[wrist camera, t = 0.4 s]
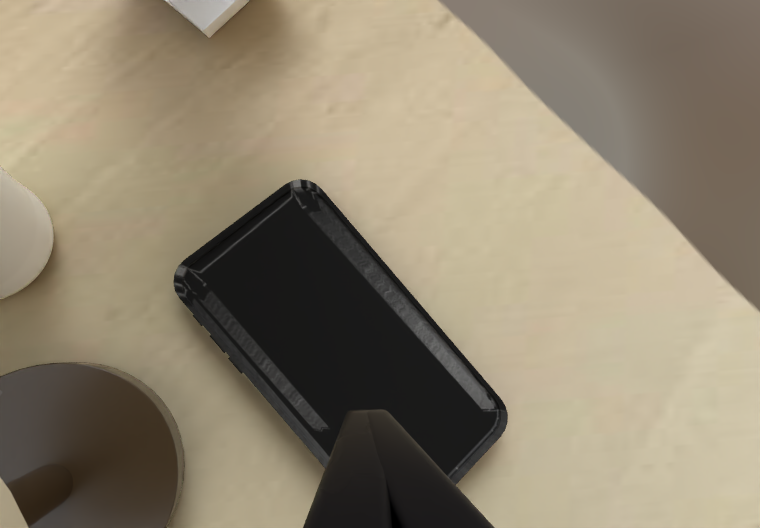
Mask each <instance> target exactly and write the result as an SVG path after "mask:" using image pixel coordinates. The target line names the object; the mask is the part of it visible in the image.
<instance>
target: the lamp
mask: <svg viewBox="0 0 760 528" xmlns="http://www.w3.org/2000/svg"><path fill="white" fill-rule="evenodd" d="M183 478H184V451H183V446H182V441H181V436H180V433H179V430H178V427H177V425H176V422H175V420H174V418H173V416H172V415H171V413H170V411H169V409H168V408H167V407H166V405H165V404H164V402H163V401H162V400H161V399H160V397H159V396H158V395H157V394H156V393H155V392H154V391H153V390H152V389H151V388H149V387H148V386H147V385H145V384H144V383H143V382H142V381H140V380H138V379H137V378H135V377H133V376H131V375H130V374H128V373H125V372H123V371H120V370H118V369H116V368H112V367H108V366H104V365H101V364H93V363H78V362H69V363H50V364H42V365H36V366H31V367H27V368H23V369H20V370H17V371H14V372H11V373H8V374H6V375H3V376H1V377H0V528H167V526H168V525H169V522H170V520H171V518H172V516H173V514H174V512H175V510H176V507H177V504H178V501H179V498H180V494H181V489H182V484H183Z"/></svg>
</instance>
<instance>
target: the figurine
mask: <svg viewBox="0 0 760 528" xmlns="http://www.w3.org/2000/svg"><path fill="white" fill-rule="evenodd" d="M164 1H166V2H167V3H168V4H169V5H170V6H172V7H173V8H174V9H175V10H176V11H178V12H179V13H180V14H181V15H182V16H183V17H185V18H186V19H187V20H188V21H189V22H191V23H192V24H193V25H194V26H195V27H197V28H198V29H199V30H200V31H201V32H203V33H204V34H205V35H206V36H207V37H209V38H210V37H211V36H212V35H213V34H214V33H215V32H216V31H217V30H219V29H220V28H221V27H222V26H223V25H224V24H225V23H226V22H227V21H228V20H229V19H230V18H232V17H233V16H234V15H235V14H236V13H237V12H238V11H239V10H240V9H241V8H242V7H244V6H245V5H246V4H247V3H248V2H249V1H250V0H164Z"/></svg>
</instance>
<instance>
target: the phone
mask: <svg viewBox="0 0 760 528" xmlns="http://www.w3.org/2000/svg"><path fill="white" fill-rule="evenodd" d="M174 287H175V291H176V293H177V295H178V296H179V298H180V299H181V300H182V302H183V303H184V304H185V305H186V306H187V307H188V309H189V310H190V311H191V312H192V313H193V314H194V315H193V317H194V318H195V319H196V320H197V321H198V322H199V324H200V325H201V326H202V325H203V326H204V327H205V328H206V330H207V331H208V332H209V333H210V334H211V335H210V337H211V338H212V339H213V341H214V342H215V343H216V344H217V345H218V346H219V348H220V349H221V350H222V351H223V352H224V353H225V352H226V353H227V354H228V355H229V356H230V357H229V358H228V359H229V360H230V361H231V362H232V363H233V365H234V366H235V367H236V368H237V369H238V370H239V372H240V373H241V374H242V373H244V374H245V375H246V376H247V377H248V379H249V380H250V381H251V382H252V383H253V384H254V386H255V387H256V388H257V389H258V390H259V391H260V393H261V394H262V395H263V396H264V397H265V398H266V400H267V401H268V402H269V403H270V404H271V405H272V407H273V408H274V409H275V410H276V411H277V412H278V414H279V415H280V416H281V417H282V418H283V419H284V421H285V422H286V423H287V424H288V425H289V426H290V428H291V429H292V430H293V431H294V432H295V433H296V435H297V436H298V437H299V438H300V439H301V440H302V442H303V443H304V444H305V445H306V446H307V447H308V449H309V450H310V451H311V452H312V453H313V455H314V456H315V457H316V458H317V459H318V460H319V462H320V463H321V464H322V465H323V466H324V467H325V469H326V466H327V463H328V461H329V458H330V456H331V453H332V450H333V448H334V445H335V442H336V440H337V437H338V435H339V432H340V429H341V427H342V424H343V421H344V419H345V416H346V414H347V412H348V411H350V410H377V409H383V410H386V411H388V412H389V413H390V414H391V415H392V417H393V418H394V419H395V420H396V421H397V422H398V423H399V424H400V425H401V426H402V427H403V429H404V430H405V431H406V432H407V433H408V434H409V435H410V436H411V437H412V438H413V439H414V441H415V442H416V443H417V444H418V445H419V446H420V447H421V448H422V449H423V450H424V451H425V453H426V454H427V455H428V456H429V457H430V458H431V459H432V460H433V461H434V462H435V463H436V465H437V466H438V467H439V468H440V469H441V470H442V471H443V472H444V473H445V474H446V475H447V477H448V478H449V479H450V480H451V481H452V482H453V483H454V484H455V485H456V484H457V483H458V482H459V481H460V480H461V478H462V477H463V476H464V475H465V474H466V473H467V472H468V471H469V470H470V469H471V468H472V467H473V466H474V465H475V463H476V462H477V461H478V460H479V459H480V458H481V457H482V456H483V455H484V454H485V453H486V452H487V451H488V450H489V448H490V447H491V446H492V445H493V444H494V443H495V442H496V441H497V440H498V439H499V438H500V437H501V435H502V434H503V432H504V431H505V429H506V425H507V416H508V414H507V410H506V407H505V405H504V403H503V401H502V400H501V398H500V397H499V396H498V395H497V394H496V393H495V391H494V390H493V389H492V388H491V387H490V386H489V384H488V383H487V382H486V381H485V380H484V379H483V377H482V376H481V375H480V374H479V373H478V372H477V370H476V369H475V368H474V367H473V366H472V365H471V363H470V362H469V361H468V360H467V359H466V357H465V356H464V355H463V354H462V353H461V352H460V350H459V349H458V348H457V347H456V346H455V345H454V343H453V342H452V341H451V340H450V339H449V338H448V336H447V335H446V334H445V333H444V332H443V331H442V329H441V328H440V327H439V326H438V325H437V324H436V322H435V321H434V320H433V319H432V318H431V316H430V315H429V314H428V313H427V312H426V311H425V309H424V308H423V307H422V306H421V305H420V304H419V302H418V301H417V300H416V299H415V298H414V297H413V295H412V294H411V293H410V292H409V291H408V290H407V288H406V287H405V286H404V285H403V284H402V283H401V281H400V280H399V279H398V278H397V277H396V276H395V274H394V273H393V272H392V271H391V270H390V268H389V267H388V266H387V265H386V264H385V263H384V261H383V260H382V259H381V258H380V257H379V256H378V254H377V253H376V252H375V251H374V250H373V249H372V247H371V246H370V245H369V244H368V243H367V242H366V240H365V239H364V238H363V237H362V236H361V235H360V233H359V232H358V231H357V230H356V229H355V227H354V226H353V225H352V224H351V223H350V222H349V220H348V219H347V218H346V217H345V216H344V215H343V213H342V212H341V211H340V210H339V209H338V208H337V206H336V205H335V204H334V203H333V202H332V201H331V199H330V198H329V197H328V196H327V195H326V194H325V192H324V191H323V190H322V189H321V188H320V187H319V186H318V185H316V184H315V183H313V182H311V181H308V180H301V179H300V180H294V181H291V182H289V183H287V184H285V185H284V186H283V187H281V188H280V189H279V190H277V191H276V192H275V193H273V194H272V195H271V196H269V197H268V198H267V199H265V200H264V201H262V202H261V203H260V204H258V205H257V206H256V207H254V208H253V209H252V210H250V211H249V212H248V213H246V214H245V215H244V216H242V217H241V218H240V219H238V220H237V221H236V222H234V223H233V224H232V225H230V226H229V227H228V228H226V229H225V230H224V231H222V232H221V233H220V234H218V235H217V236H216V237H214V238H213V239H212V240H210V241H209V242H208V243H206V244H205V245H204V246H202V247H201V248H200V249H198V250H197V251H196V252H194V253H193V254H192V255H190V256H189V257H188V258H186V259H185V260H184V261H183V262H182V263H181V264H180V265H179V266H178V268H177V270H176V272H175V275H174Z"/></svg>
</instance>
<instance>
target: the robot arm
mask: <svg viewBox="0 0 760 528" xmlns="http://www.w3.org/2000/svg"><path fill="white" fill-rule="evenodd" d="M303 528H494V527H493V526H492V525H491V523H490V522H489V521H488V520H487V519H486V518H485V517H484V516H483V515H482V514H481V513H480V511H479V510H478V509H477V508H476V507H475V506H474V505H473V504H472V503H471V502H470V501H469V499H468V498H467V497H466V496H465V495H464V494H463V493H462V492H461V491H460V490H459V489H458V487H457V486H456V485H455V484H454V483H453V482H452V481H451V480H450V479H449V478H448V477H447V475H446V474H445V473H444V472H443V471H442V470H441V469H440V468H439V467H438V466H437V465H436V463H435V462H434V461H433V460H432V459H431V458H430V457H429V456H428V455H427V454H426V453H425V451H424V450H423V449H422V448H421V447H420V446H419V445H418V444H417V443H416V442H415V441H414V439H413V438H412V437H411V436H410V435H409V434H408V433H407V432H406V431H405V430H404V429H403V427H402V426H401V425H400V424H399V423H398V422H397V421H396V420H395V419H394V418H393V417H392V415H391V414H390V413H389V412H388V411H386V410H383V409H377V410H350V411H348V412H347V414H346V416H345V419H344V421H343V424H342V427H341V429H340V432H339V435H338V437H337V440H336V442H335V445H334V448H333V450H332V453H331V456H330V458H329V461H328V463H327V466H326V469H325V471H324V474H323V477H322V479H321V482H320V484H319V487H318V490H317V492H316V495H315V498H314V500H313V503H312V506H311V508H310V511H309V513H308V516H307V519H306V521H305V524H304V527H303Z"/></svg>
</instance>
